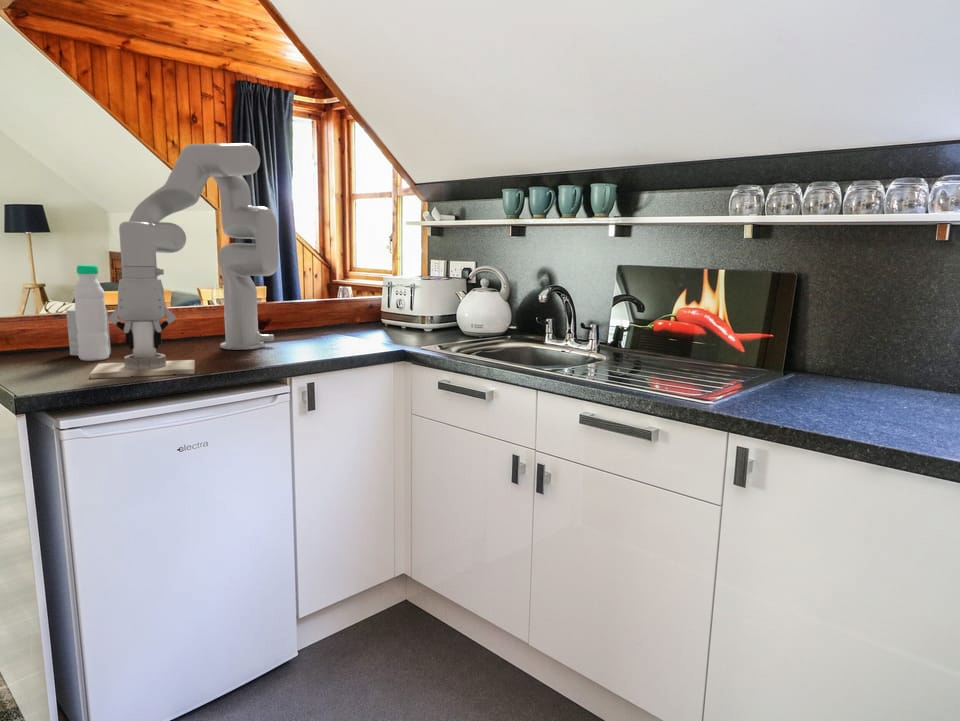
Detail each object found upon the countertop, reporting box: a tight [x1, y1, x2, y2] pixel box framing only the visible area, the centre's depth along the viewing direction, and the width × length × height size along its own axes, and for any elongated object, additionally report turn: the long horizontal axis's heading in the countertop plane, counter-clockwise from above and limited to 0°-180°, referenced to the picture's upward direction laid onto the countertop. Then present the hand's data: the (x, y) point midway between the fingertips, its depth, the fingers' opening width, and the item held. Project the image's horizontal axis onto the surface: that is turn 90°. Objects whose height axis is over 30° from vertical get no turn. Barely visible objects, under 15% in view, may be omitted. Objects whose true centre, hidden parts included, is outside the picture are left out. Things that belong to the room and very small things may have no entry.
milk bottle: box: [73, 264, 110, 362], centre depth 171 cm, size 7×7×25 cm
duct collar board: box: [89, 352, 196, 379], centre depth 159 cm, size 22×13×4 cm, turn 113°
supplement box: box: [65, 308, 112, 357], centre depth 178 cm, size 7×7×13 cm
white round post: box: [131, 321, 157, 359], centre depth 158 cm, size 5×5×10 cm
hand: (144, 347), depth 158 cm, fingers closed on white round post, 5 cm apart
